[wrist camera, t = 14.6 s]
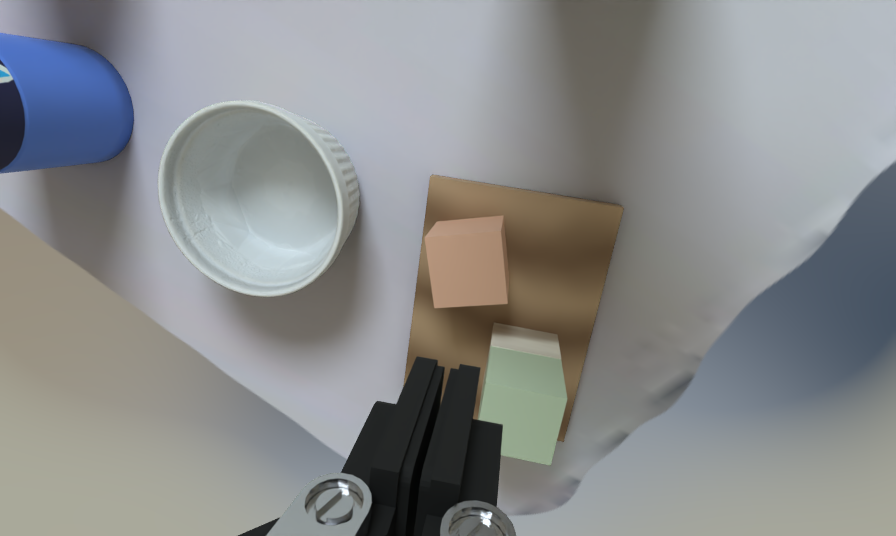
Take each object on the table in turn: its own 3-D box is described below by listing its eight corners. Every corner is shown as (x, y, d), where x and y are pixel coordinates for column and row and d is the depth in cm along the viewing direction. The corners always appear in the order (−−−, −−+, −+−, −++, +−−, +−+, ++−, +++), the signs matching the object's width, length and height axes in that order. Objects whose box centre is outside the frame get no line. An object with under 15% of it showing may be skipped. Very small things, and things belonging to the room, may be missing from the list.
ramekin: (391, 256, 40) (365, 284, 33) (245, 280, 42) (194, 310, 36) (349, 85, 36) (310, 78, 29) (193, 122, 39) (126, 124, 32)
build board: (433, 174, 37) (419, 184, 32) (620, 205, 36) (636, 219, 31) (404, 400, 43) (388, 437, 38) (562, 433, 42) (567, 475, 37)
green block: (490, 346, 35) (485, 382, 30) (561, 359, 34) (567, 398, 30) (479, 405, 36) (473, 449, 32) (546, 419, 36) (550, 465, 31)
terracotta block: (436, 221, 37) (424, 237, 32) (503, 215, 36) (500, 230, 31) (445, 284, 38) (434, 308, 34) (509, 279, 37) (507, 303, 33)
